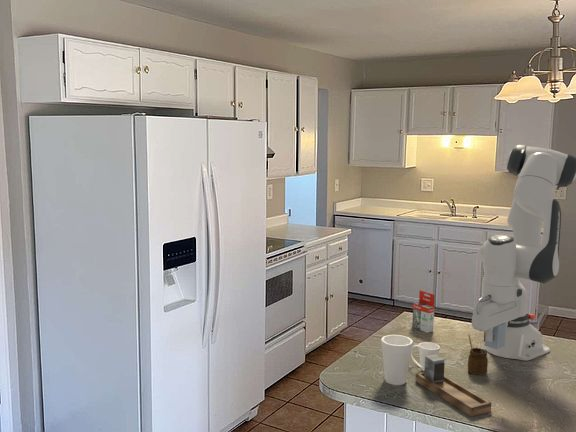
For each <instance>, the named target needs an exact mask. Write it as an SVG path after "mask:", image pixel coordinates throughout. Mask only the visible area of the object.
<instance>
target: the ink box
mask: <svg viewBox="0 0 576 432" xmlns="http://www.w3.org/2000/svg"><path fill="white" fill-rule="evenodd" d="M435 298H436V297H435V294H433V293H430V292H426V291H423V290H421V289H419V294H418V301H417V302H414V303H413V304H412V305H413V306H412V323H411V325H412V327H411V328H413V329H416V330H418V331H421V332H423V333H426V334H427V333H432V332H433V331H434V322H435Z"/></svg>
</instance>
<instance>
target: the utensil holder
mask: <svg viewBox="0 0 576 432" xmlns="http://www.w3.org/2000/svg"><path fill="white" fill-rule="evenodd" d="M468 340H469V344H470V350H469V355H468V359H467V371H468V372H469V373H470V374H472V375H476V376H482V375H486V373H487V372H488V364H489V363H488V362H489V361H488V351H487V350H486V349H485V345H483V344H484V343H485V342H484V340H482V341H481V343H480V344H481V345H480V348H479V347H473V344H472V340H471V335H470V334H468ZM482 345H483V346H482ZM482 347H483V348H482Z"/></svg>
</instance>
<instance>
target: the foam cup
mask: <svg viewBox="0 0 576 432" xmlns="http://www.w3.org/2000/svg"><path fill="white" fill-rule="evenodd" d="M380 344H381V345H380V346H381V353H382V363H383V373H384V381H385V382H386V383H388V384H389V385H393V386H401V385H402V386H403V385H404V384H405V383H406V382H407V378H408V372H409V368H410V362H411V351H412V352H413V350H414V348H413V346H414V341H413V339H412V338H410V337H408V336H405V335H401V334H388V335H384V336H382V337H381V339H380ZM412 349H413V350H412Z"/></svg>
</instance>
